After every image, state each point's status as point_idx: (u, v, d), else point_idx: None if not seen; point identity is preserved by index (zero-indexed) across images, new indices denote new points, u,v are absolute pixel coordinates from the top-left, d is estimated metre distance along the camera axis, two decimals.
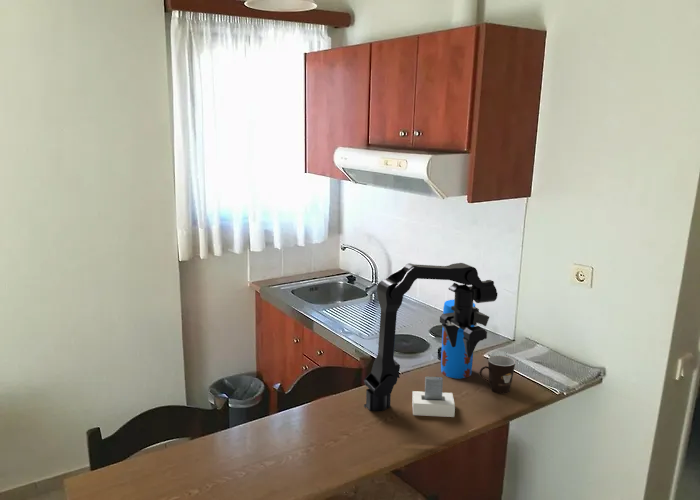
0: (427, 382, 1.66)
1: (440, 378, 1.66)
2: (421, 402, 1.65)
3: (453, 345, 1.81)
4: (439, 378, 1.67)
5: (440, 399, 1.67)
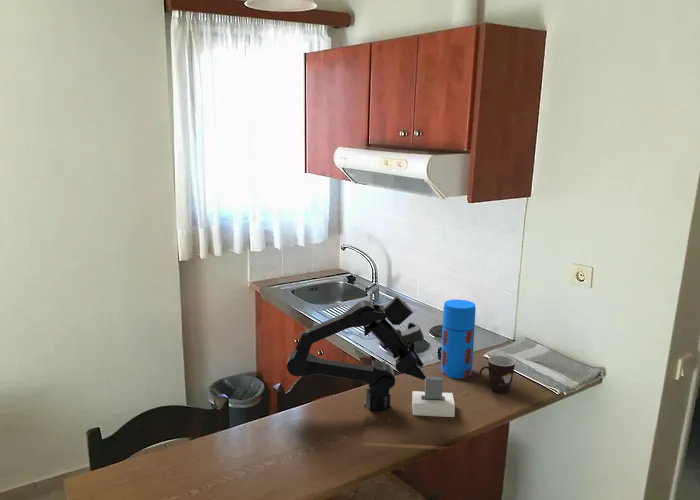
0: (427, 382, 1.66)
1: (440, 378, 1.66)
2: (421, 402, 1.65)
3: (420, 365, 1.71)
4: (439, 378, 1.67)
5: (440, 399, 1.67)
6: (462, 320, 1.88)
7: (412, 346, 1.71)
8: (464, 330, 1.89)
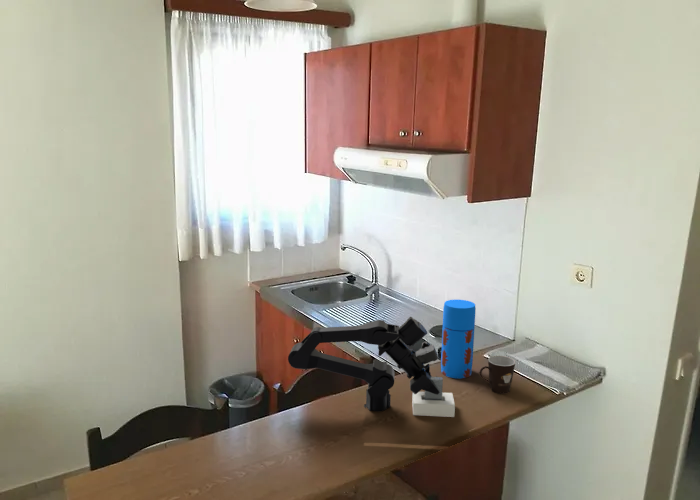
0: None
1: (440, 378, 1.66)
2: (421, 402, 1.65)
3: None
4: (439, 378, 1.67)
5: (440, 399, 1.67)
6: (462, 320, 1.88)
7: (427, 370, 1.68)
8: (464, 330, 1.89)
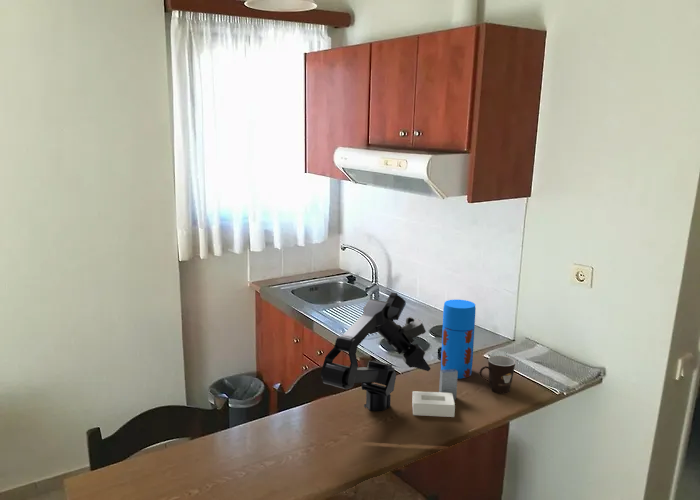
0: (444, 375, 1.73)
1: (454, 370, 1.74)
2: (421, 402, 1.65)
3: None
4: (454, 370, 1.75)
5: (455, 390, 1.75)
6: (462, 320, 1.88)
7: None
8: (464, 330, 1.89)
